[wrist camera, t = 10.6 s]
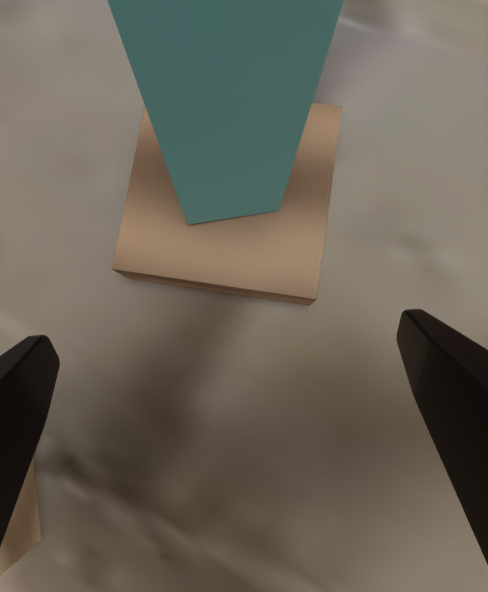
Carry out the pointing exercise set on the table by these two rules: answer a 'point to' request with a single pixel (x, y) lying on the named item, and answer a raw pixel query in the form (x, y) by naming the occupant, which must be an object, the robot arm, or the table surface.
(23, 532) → the birch cube
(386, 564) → the table surface
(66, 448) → the table surface
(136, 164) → the tan flat block
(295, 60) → the teal pillar
